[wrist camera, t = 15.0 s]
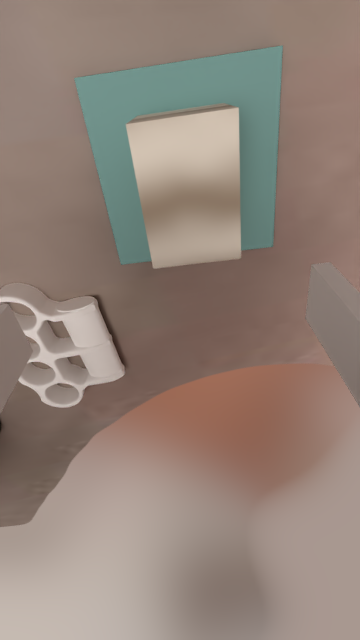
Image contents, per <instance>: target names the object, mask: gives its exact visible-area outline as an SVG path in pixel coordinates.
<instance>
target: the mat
mask: <svg viewBox="0 0 360 640" xmlns="http://www.w3.org/2000/svg"><path fill="white" fill-rule="evenodd" d="M282 49H283V46H277V47H270V48H264V49H257V50H251V51H245V52H238V53H232V54H225V55H219V56H213V57H206V58H200V59H193V60H187V61H181V62H174V63H168V64H161V65H155V66H149V67H142V68H136V69H129V70H123V71H117V72H110V73H104V74H97V75H91V76H85V77H78V78H74V79H75V83H76V87H77V91H78V95H79V99H80V103H81V107H82V111H83V115H84V119H85V123H86V127H87V131H88V135H89V139H90V143H91V147H92V151H93V155H94V159H95V163H96V167H97V171H98V175H99V179H100V183H101V187H102V191H103V195H104V199H105V203H106V207H107V211H108V215H109V219H110V223H111V227H112V231H113V235H114V239H115V243H116V247H117V251H118V254H119V258H120V262H121V265H122V264H131V263H139V262H148V261H152V260H151V254H150V249H149V244H148V239H147V233H146V228H145V223H144V218H143V212H142V207H141V202H140V197H139V192H138V186H137V181H136V176H135V171H134V165H133V160H132V155H131V150H130V144H129V139H128V134H127V129H126V124H127V123H128V122H130V121H131V120H132V119H134V118H135V117H137V116H139V115H146V114H153V113H159V112H166V111H173V110H179V109H186V108H193V107H200V106H206V105H213V104H220V103H225V104H228V105H232V106H235V107H239V154H240V219H241V250H250V249H258V248H267V247H273V237H274V216H275V196H276V175H277V154H278V133H279V112H280V91H281V70H282Z"/></svg>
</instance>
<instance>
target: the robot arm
mask: <svg viewBox="0 0 360 640" xmlns="http://www.w3.org/2000/svg"><path fill="white" fill-rule="evenodd" d="M305 318H306V320H307V322H308V323H309V325H310V327H311V328H312V330H313V331H314V333H315V335H316V336H317V338H318V340H319V341H320V343H321V345H322V346H323V348H324V349H325V351H326V353H327V354H328V356H329V358H330V359H331V361H332V363H333V364H334V366H335V367H336V369H337V371H338V372H339V374H340V375H341V377H342V379H343V380H344V382H345V384H346V385H347V387H348V389H349V390H350V392H351V394H352V395H353V397H354V398H355V400H356V402H357V403H358V405H359V407H360V293H359V292H358V291H357V290H356V289H355V288H354V286H353V285H352V284H351V283H350V282H349V281H348V280H347V279H346V278H345V277H344V276H343V275H342V274H341V273H340V272H339V271H338V270H337V269H336V268H335V267H334V266H333V265H332V264H331V263H330V262H328V263H320V264H312V265H311V273H310V282H309V291H308V300H307V308H306V317H305ZM32 353H33V350H32V348H31V346H30V344H29V342H28V340H27V338H26V336H25V334H24V332H23V330H22V328H21V326H20V324H19V323H18V321H17V319H16V317H15V315H14V313H13V311H12V309H11V307H10V305H9V304H4V305H0V414H1V412H2V410H3V408H4V406H5V404H6V402H7V400H8V398H9V397H10V395H11V393H12V391H13V389H14V387H15V385H16V383H17V381H18V379H19V378H20V376H21V374H22V372H23V370H24V368H25V366H26V364H27V362H28V360H29V359H30V357H31V355H32ZM0 431H1V423H0Z"/></svg>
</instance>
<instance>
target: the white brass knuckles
mask: <svg viewBox="0 0 360 640" xmlns="http://www.w3.org/2000/svg"><path fill="white" fill-rule="evenodd" d="M6 302H16V303H21V304H23V305H25V306H27V307H29V308H30V309H31V310H32V311H33V312H34V314H35V316H30V315H21V314H18V313H16V312H14V311H13V310H12V311H13V313H14V315H15V317H16V319H17V321H18V323H19V324H20V326H21V328H22V330H23V332H24V334H25V336H28V337H30V338H32V339H34V340H35V341H36V342H37V343H29V344H30V346H31V348H32V350H33V353H32V355H31V357H30V359H29V360H28V362H27V364H26V366H25V368H24V370H23V372H22V374H21V376H20V378H19V379H18V381H19V382H21V383H22V384H23V385H26V386H28V387H30V388H32V389H33V390H35V391H36V392H37V393H38V394H39V396H40V398H41V401H42V402H44V403H46V404H48V405H51V406H54V407H61V408H64V407H71V406H74V405H76V404H77V403H79V402H80V401H81V399H82V397H83V394H84V391H85V388H86V387H87V386H89V385H95V384H101V383H107V382H112V381H115V380H117V379H119V378H121V377H122V376H124V374H125V370H124V369H125V367H124V365H123V364H122V363H121V360H120V358H119V356H118V353H117V351H116V348H115V346H114V344H113V341H112V336H111V334H109V332H108V329H107V327H106V324H105V322H104V320H103V317H102V315H101V312H100V310H99V308H98V302H97V299H95V298H94V297H91V296H82V297H77V298H72V299H69V300H66V301H61V302H58V301H55V300H52V299H49V298H48V297H47V296H46V295H45V294H44V293H43V292H41V291H40V290H39V289H37V288H35V287H33V286H31V285H28V284H24V283H11V284H7V285H5V286H3V287H2V288H1V289H0V305H4V304H6ZM47 320H50V321H53V322H57V321H63V323H64V325H65V327H66V329H67V331H68V333H69V335H70V337H67V338H58V337H57V336H55V334H54V332H53V331H52V329H51V327H50V325H49V323H48V321H47ZM76 355H80V356H81V358H82V360H83V362H84V364H85V366H86V369H84V368H81V367H79V366H77V365H74V364H71V363H70V362H69V360H68V358H67V357H71V356H76ZM31 362H42V363H45V364H47V365H49V366H50V367H51V369H41V368H38V367H36V366H34V365H33V364H32V363H31ZM57 383H66V384H69V385H72V386H73V387H72V388H65V387H61V386H59V385H57Z"/></svg>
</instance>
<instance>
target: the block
mask: <svg viewBox="0 0 360 640" xmlns="http://www.w3.org/2000/svg"><path fill="white" fill-rule="evenodd" d="M126 129H127V134H128V139H129V144H130V150H131V155H132V160H133V165H134V171H135V176H136V181H137V186H138V192H139V197H140V202H141V207H142V212H143V218H144V223H145V228H146V233H147V239H148V244H149V249H150V254H151V260H152V265H153V269H156V268H164V267H173V266H181V265H190V264H198V263H207V262H215V261H224V260H232V259H241V219H240V154H239V107H235V106H232V105H228V104H225V103H220V104H213V105H206V106H200V107H193V108H186V109H179V110H173V111H166V112H159V113H153V114H146V115H139V116H137V117H135V118H134V119H132V120H131V121H130V122H128V123H127V124H126Z"/></svg>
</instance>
